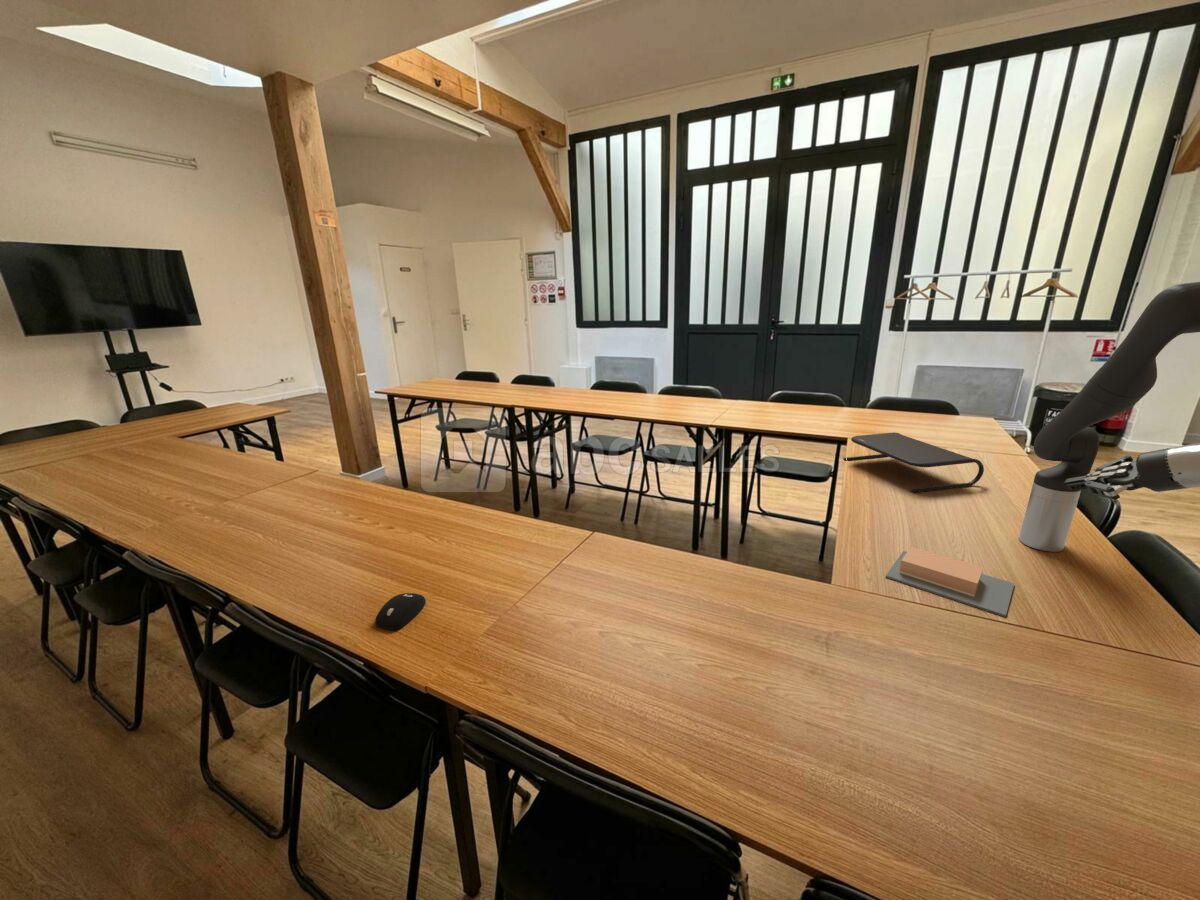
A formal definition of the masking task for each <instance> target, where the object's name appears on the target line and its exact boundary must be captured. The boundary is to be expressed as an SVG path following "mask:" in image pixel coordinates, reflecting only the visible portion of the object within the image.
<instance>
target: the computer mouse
mask: <svg viewBox="0 0 1200 900" xmlns="http://www.w3.org/2000/svg"><path fill="white" fill-rule="evenodd" d="M426 603H427V602H426V598H425V596H424V595H423V594H419V593H415V592H405V593H399V594H397V595H395V596H393V597H391V598H390V599H388V600H387V601H386V602H385V603H384V605H383V606H382V607H381V608H380V609H379V611H378V612H377V615H376V617H375V620H374V621H375V622H374V624H375V626H376V627H378V628H380V629H383V630H388V631H399V630H401V629H402V628H404V627H405V626H407V625H408V624H409V623H410V622H411V621H412V620H413V619H414V618H415V617H416V616H417V615H418V614H420V612H421V611H422V610H423V608H424V607H425V605H426Z"/></svg>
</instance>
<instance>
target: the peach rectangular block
mask: <svg viewBox="0 0 1200 900" xmlns="http://www.w3.org/2000/svg"><path fill="white" fill-rule="evenodd" d="M906 552H907V553H906V554H905V556H904V557H903V559H902V560H901V565H900V571H899V573H902V574H905V575H908V576H911V577H914V578H917V579H920V580H924V581H927V582H930V583H933V584H936V585H939V586H942V587H945V588H948V589H952V590H955V591H958V592H961V593H964V594H967V595H970V596H973V597H974V596H975V593H976V591H977V588H978V586H979V583H980V580H981V577H982V574H983V572H984V567H983V566H979V565H977V564H973V563H969V562H966V561H963V560H959V559H956V558H952V557H949V556H946V555H942V554H937V553H935V552H931V551H927V550H923V549H921V548H917V547H914V546H910V547H909V549H907V551H906Z"/></svg>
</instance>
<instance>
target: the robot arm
mask: <svg viewBox="0 0 1200 900" xmlns="http://www.w3.org/2000/svg"><path fill="white" fill-rule="evenodd" d="M1193 333H1200V281H1195V282H1186V283H1179V284H1175V285H1171V286H1169V287H1167V288H1164V289H1163V290H1161V291H1160V292H1158V294H1157V295H1156V296H1154V298H1153V299H1151V300H1150V302H1149V303H1148V304H1147V306H1146V307H1145V308H1144V310H1143V311H1142V313H1141V315H1140V316H1139V317H1138V319H1137V321H1136V322H1135V323H1134V325H1133V326H1132V328H1131V329H1130V331H1129V332H1128V334H1127V335H1126V336H1125V338H1124V339H1123V340H1122V342H1121V343H1120V344H1119V345H1118V346H1117V348H1116V349H1115V350H1114V352H1113V353H1112V354H1111V355H1110V357H1109V358H1107V360H1106V361H1105V362H1104V364H1103V365H1102V366H1101V367H1099V368H1098V370H1097V371H1096V372H1095V373H1094V374H1093V375H1092V376H1091V378H1090V379H1089V380H1088V381H1087V382H1086V384H1085V385H1084V386H1083V387H1082V389H1080V391H1079V392H1078V393H1077V394H1076V395H1075V396H1074V397H1073V398H1072V399H1071V401H1070V402H1069V403H1068V404H1067V405H1066V406H1065V407H1064V408H1063V409H1062V410H1061V411H1060V412H1058V414H1056V415H1055V416H1054V417H1053V418H1052V419H1051V420H1050V421H1048V422H1047V423H1046V424H1045V425H1044V426H1042V428H1041V429H1040V430H1039V432H1038V433H1037V435H1036V437H1035V438H1034V442H1033V451H1034V454H1035V455H1036V456H1037V458H1040V459H1042V460H1046V461H1050V462H1060V463H1058V464H1057V465H1054V466H1052V467H1047V468H1045V469H1044V468H1043V469H1040V470H1038V471H1037V472H1036V473H1035V474H1034V479H1033V482H1032V486H1031V489H1030V494H1029V497H1028V501H1027V505H1026V509H1025V513H1024V517H1023V520H1022V523H1021V528H1020V532H1019V535H1018V540H1019V542H1020V543H1022V545H1025V546H1027V547H1030V548H1033V549H1035V550H1040V551H1044V552H1051V553H1052V552H1053V553H1056V552H1057V553H1058V552H1062V551H1064V550H1065V545H1066V543H1067V539H1068V537H1069V533H1070V529H1071V526H1072V522H1073V519H1074V516H1075V512H1076V509H1077V506H1078V502H1079V500H1080V499H1079V498H1080V494H1081V492H1082V490H1087V489H1088V490H1089V491H1090V492H1091V494H1092V495H1095V496H1099V497H1101V498H1106V499H1109V500H1113V501H1115V500H1118V499H1120V498H1121V496H1120V494H1121V493H1123V492H1124V491H1129V492H1130V491H1134V490H1139V489H1142V488H1146V489H1148V490H1151V491H1153V492H1155V493H1156V492H1158V493H1160V492H1168V491H1175V490H1184V489H1185V490H1186V489H1192V488H1193V489H1194V488H1200V442H1198V443H1190V444H1184V445H1179V446H1174V447H1169V448H1162V449H1157V450H1151V451H1145V452H1142V453H1140V454H1139V455H1137V457H1136V459H1134V458H1133V457H1132V456H1131V455H1130V454H1127V455H1124V456H1121V457H1119V458H1117V459H1114V460H1112V461H1109V462H1107V463H1105V464H1103V465H1100V466H1097V467H1096V468H1094V469H1093V470H1094V472H1093V471H1092V472H1091V470H1092V468H1093V465H1094V462H1095V461H1096V457H1097V455H1098V451H1099V447H1100V436H1099V434H1098V431H1097V430H1096V429H1095V428H1093V427H1091V426H1093V425H1095V424H1099V423H1101V422H1104V421H1105V420H1108V419H1111V418H1113V417H1115V416H1118V415H1120V414H1122V413H1125V412H1126V411H1128V410H1130V409H1131V408H1132V407H1134V406H1135V405H1136V404H1137V403H1139V401H1140V400H1141V399H1142V398H1144V396H1146V395H1147V393H1149V392H1150V390H1151V389H1152V388H1153V387H1154V386H1155V384H1156V382H1157V379H1158V368H1157V367H1158V366H1157V357H1158V355H1159V354H1160V353H1161V351H1162V350H1163V349H1164V348H1165V347H1166V346H1167V345H1168V344H1170V342H1172V341H1173V340H1174V339H1175V338H1177V337H1178V336H1180V335H1183V334H1193Z"/></svg>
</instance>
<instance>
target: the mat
mask: <svg viewBox="0 0 1200 900" xmlns="http://www.w3.org/2000/svg"><path fill="white" fill-rule="evenodd" d="M907 552H908V551H905V550H902V552H901V554H900V555H899V556H898V557H897V558H896V560H895V562H894V563H893V565H892V566H891V568H890V569H889V570H888V572H887V573H886V574H885V578H887V579H889V580H893V581H896V582H898V583H902V584H904V585H908V586H911V587H914V588H916V589H920V590H922V591H926V592H929V593H932V594H935V595H938V596H941V597H943V598H947V599H950V600H952V601H956V602H958V603H962V604H965V605H968V606H969V607H974V608H977V609H979V610H983V611H986V612H988V613H991V614H995V615H999V616H1001V617H1004V618H1006V616H1007V612H1008V609H1009V605H1010V602H1011V598H1012V594H1013V590H1014V588H1015V587H1014V586H1015V583H1014V582H1011V581H1009V580H1008V581H1007V580H1004V579H1001V578H997V577H994V576H991V575H987V574H984V573H982V577H981V580H980V583H979V586H978V588H977V591H976V593H975V596H974V597H973V596H970V595H967V594H964V593H961V592H958V591H955V590H952V589H948V588H945V587H942V586H939V585H936V584H933V583H930V582H927V581H924V580H920V579H917V578H914V577H911V576H908V575H905V574H902V573H899V571H900V565H901V560H902V559H903V557H904V556H905V554H906V553H907Z"/></svg>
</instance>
